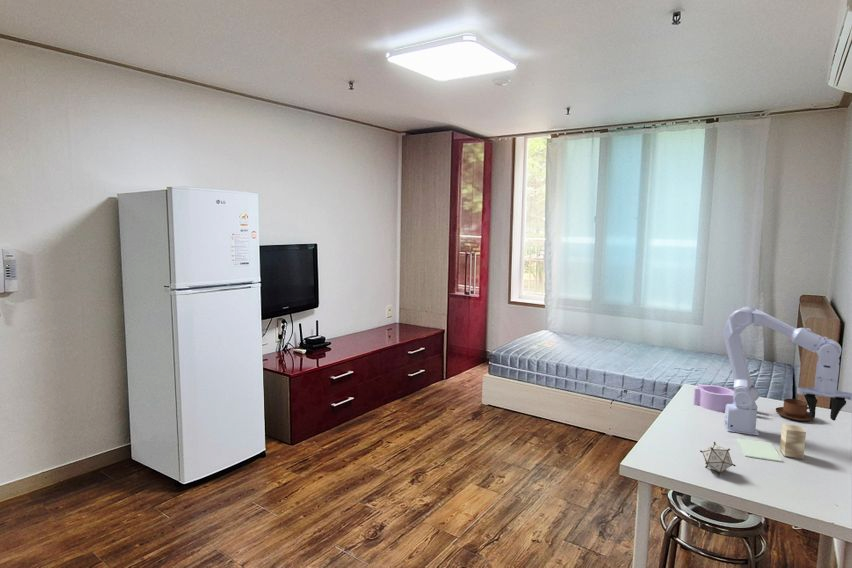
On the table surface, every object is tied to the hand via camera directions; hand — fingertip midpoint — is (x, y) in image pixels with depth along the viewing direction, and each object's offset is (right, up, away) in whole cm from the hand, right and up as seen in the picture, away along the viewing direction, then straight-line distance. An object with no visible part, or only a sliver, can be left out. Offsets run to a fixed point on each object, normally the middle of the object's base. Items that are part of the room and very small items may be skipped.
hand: (822, 418), depth 162 cm
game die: (-43, -12, -14) cm, 47 cm away
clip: (-10, -6, +38) cm, 40 cm away
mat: (-21, -10, 0) cm, 23 cm away
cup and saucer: (+12, -8, +29) cm, 32 cm away
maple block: (-13, -11, -3) cm, 17 cm away
